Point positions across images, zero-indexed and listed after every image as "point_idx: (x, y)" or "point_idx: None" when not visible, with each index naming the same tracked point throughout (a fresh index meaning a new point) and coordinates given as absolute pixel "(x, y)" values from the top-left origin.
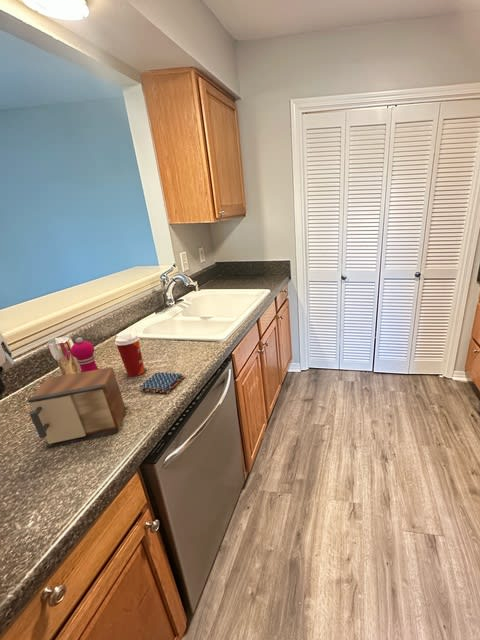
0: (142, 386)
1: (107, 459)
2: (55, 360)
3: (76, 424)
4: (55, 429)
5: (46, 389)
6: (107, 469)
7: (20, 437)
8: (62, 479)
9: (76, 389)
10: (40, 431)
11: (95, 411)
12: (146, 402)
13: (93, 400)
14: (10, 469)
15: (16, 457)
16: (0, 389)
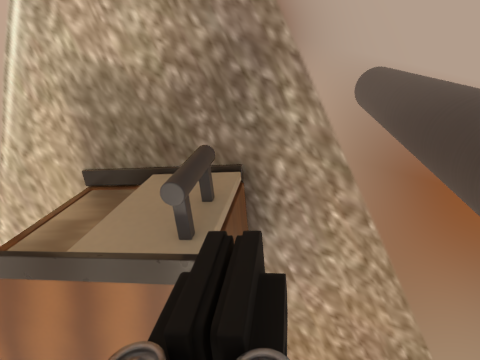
0: None
1: (58, 63)
2: None
3: (142, 192)
4: (198, 189)
5: None
6: (38, 19)
7: (344, 236)
8: (140, 9)
9: (34, 275)
10: (195, 153)
11: (85, 219)
12: None
13: (52, 242)
14: (309, 99)
15: (316, 149)
16: (179, 277)
